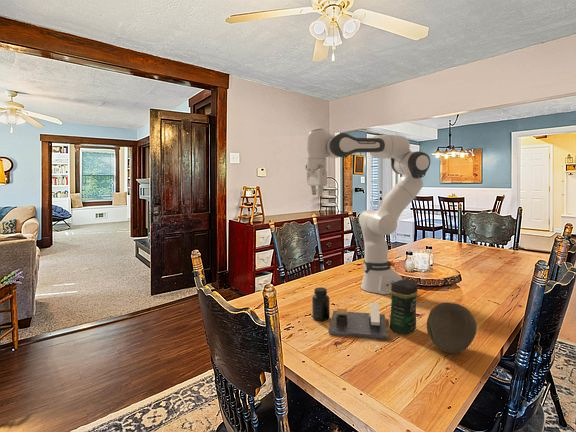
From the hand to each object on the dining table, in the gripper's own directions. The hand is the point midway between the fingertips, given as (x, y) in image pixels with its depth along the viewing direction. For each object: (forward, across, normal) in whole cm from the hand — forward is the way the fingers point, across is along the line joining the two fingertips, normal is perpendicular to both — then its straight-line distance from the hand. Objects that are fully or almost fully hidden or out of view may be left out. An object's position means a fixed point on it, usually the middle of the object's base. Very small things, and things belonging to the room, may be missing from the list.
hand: (316, 195), depth 150 cm
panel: (+47, -36, -5) cm, 59 cm away
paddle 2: (+43, -38, -10) cm, 58 cm away
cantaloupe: (+47, -58, -27) cm, 80 cm away
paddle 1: (+43, -33, +1) cm, 54 cm away
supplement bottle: (+47, -26, +7) cm, 54 cm away
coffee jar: (+47, -42, -19) cm, 67 cm away
